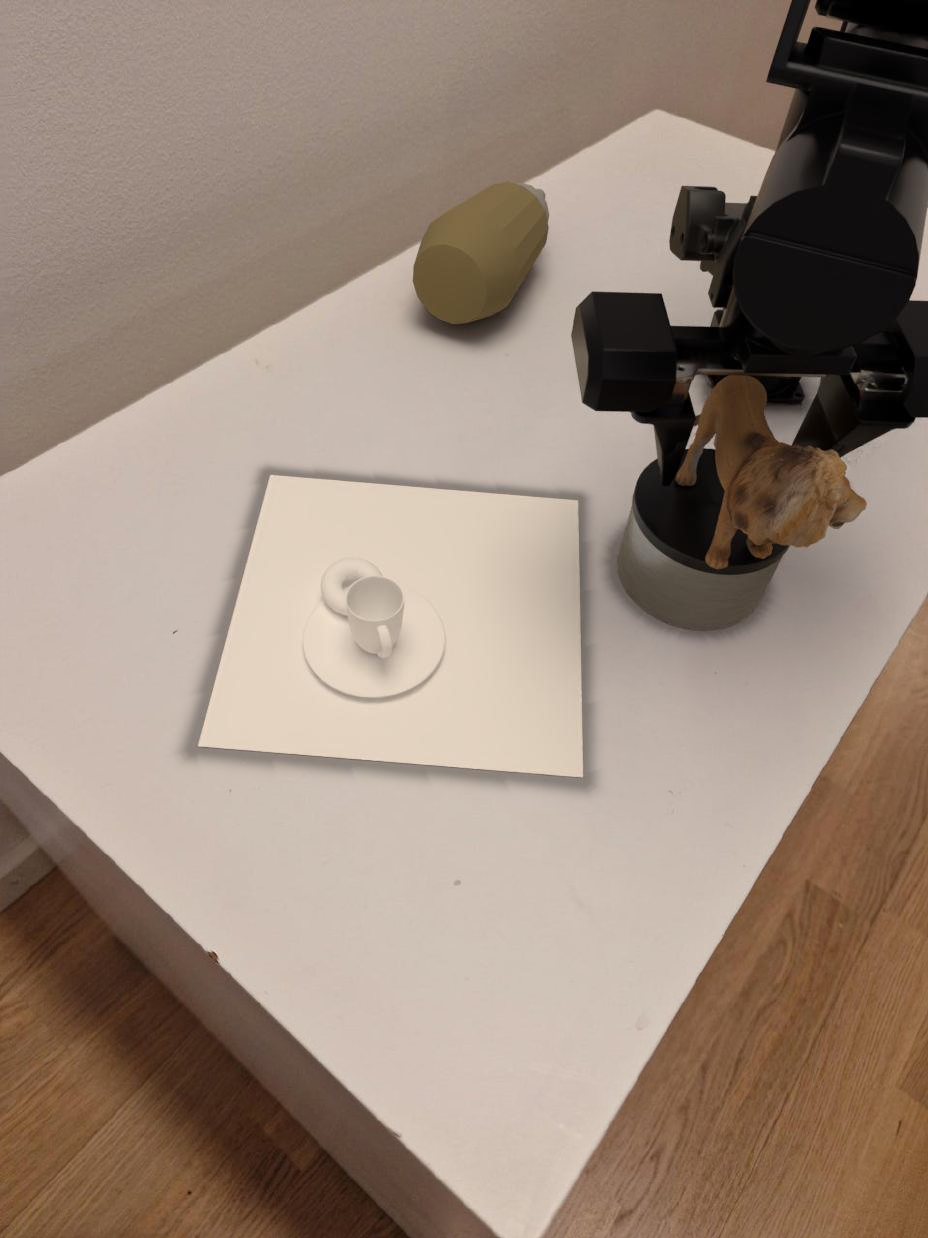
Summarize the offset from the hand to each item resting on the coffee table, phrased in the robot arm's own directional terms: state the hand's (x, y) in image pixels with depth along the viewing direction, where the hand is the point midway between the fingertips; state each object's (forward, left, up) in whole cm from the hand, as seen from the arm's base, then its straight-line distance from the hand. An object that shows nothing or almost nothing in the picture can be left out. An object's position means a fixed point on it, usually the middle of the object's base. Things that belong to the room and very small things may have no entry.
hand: (724, 481), depth 51 cm
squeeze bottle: (+15, -22, -3) cm, 27 cm away
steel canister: (0, 0, -8) cm, 8 cm away
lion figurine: (-1, +1, -2) cm, 2 cm away
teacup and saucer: (+17, +3, -8) cm, 19 cm away
